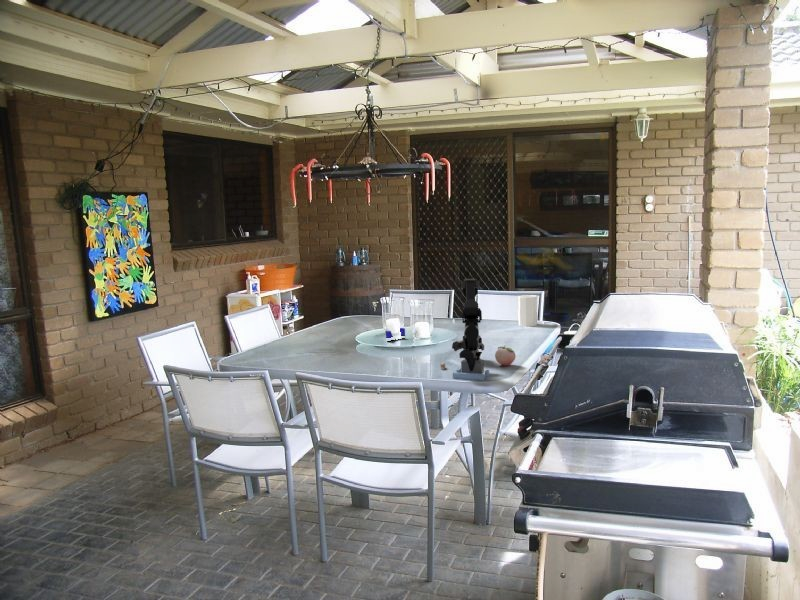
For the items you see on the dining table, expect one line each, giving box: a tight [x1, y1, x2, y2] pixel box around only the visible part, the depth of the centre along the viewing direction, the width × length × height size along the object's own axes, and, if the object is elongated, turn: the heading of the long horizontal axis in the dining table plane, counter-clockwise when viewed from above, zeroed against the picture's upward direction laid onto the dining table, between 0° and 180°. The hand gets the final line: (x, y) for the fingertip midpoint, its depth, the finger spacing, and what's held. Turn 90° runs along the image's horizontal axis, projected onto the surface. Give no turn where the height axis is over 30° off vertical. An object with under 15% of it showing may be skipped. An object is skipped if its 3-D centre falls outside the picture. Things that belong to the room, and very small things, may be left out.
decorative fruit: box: [494, 346, 516, 367], centre depth 282 cm, size 9×8×10 cm
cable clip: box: [385, 327, 406, 339], centre depth 355 cm, size 12×4×6 cm, turn 132°
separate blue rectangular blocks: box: [452, 367, 490, 381], centre depth 267 cm, size 8×14×2 cm, turn 68°
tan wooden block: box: [440, 362, 446, 371], centre depth 281 cm, size 3×14×2 cm, turn 68°
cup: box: [517, 294, 538, 328], centre depth 378 cm, size 11×11×18 cm
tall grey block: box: [460, 358, 485, 374], centre depth 270 cm, size 4×9×5 cm, turn 68°
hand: (472, 369), depth 270 cm, fingers closed on tall grey block, 4 cm apart
